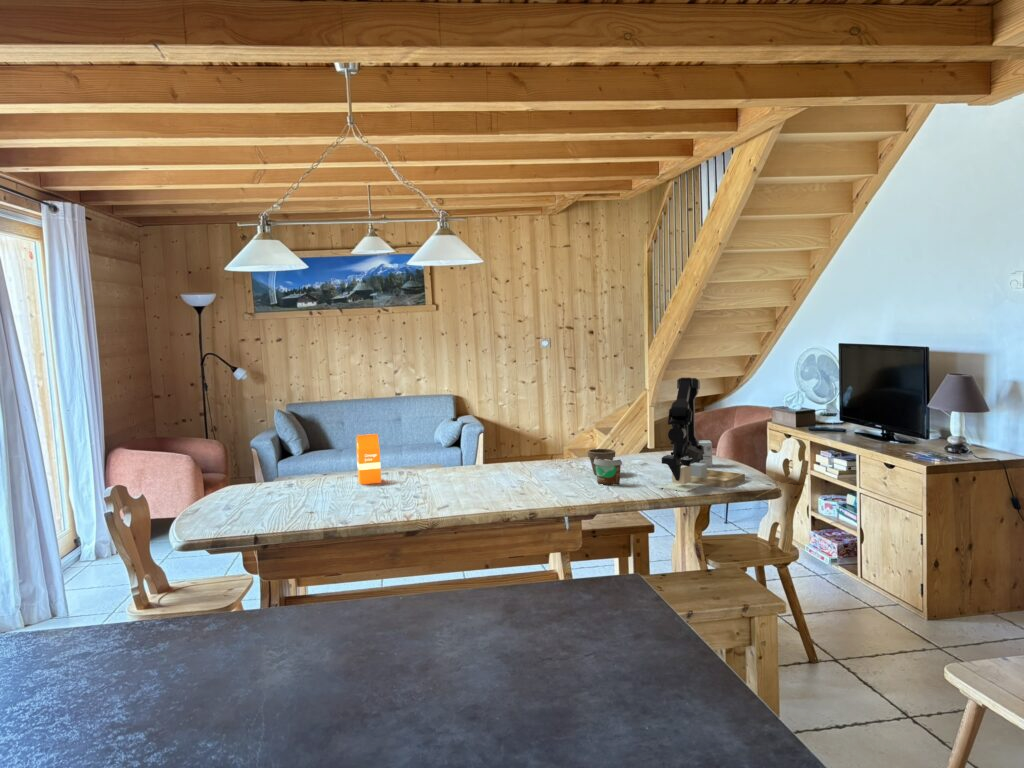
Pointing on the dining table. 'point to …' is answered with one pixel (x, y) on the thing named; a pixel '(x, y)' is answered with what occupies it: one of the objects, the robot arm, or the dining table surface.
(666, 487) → the sage tile
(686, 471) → the tan box
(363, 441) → the orange juice
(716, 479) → the wooden tray
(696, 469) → the blue-grey box
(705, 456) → the light bulb box
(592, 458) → the flower pot
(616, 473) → the food container
